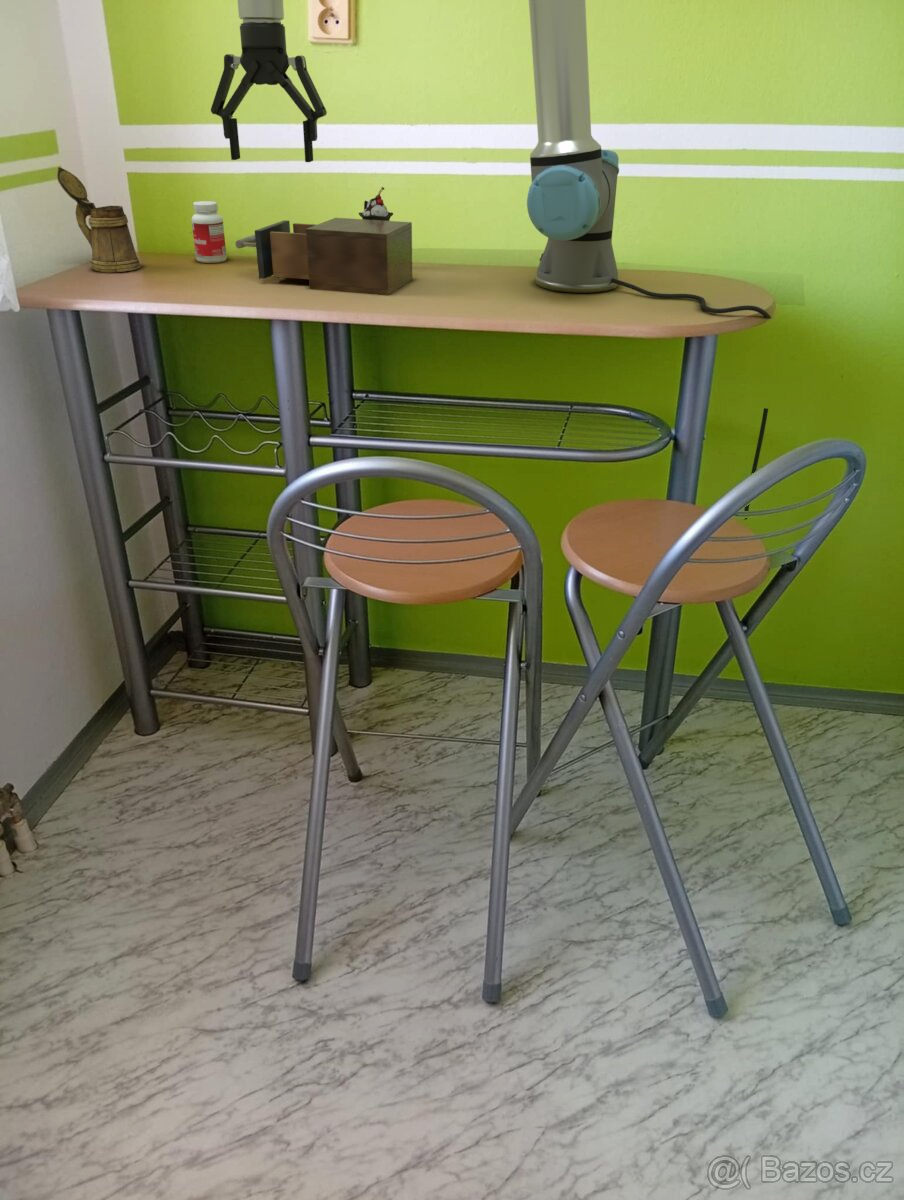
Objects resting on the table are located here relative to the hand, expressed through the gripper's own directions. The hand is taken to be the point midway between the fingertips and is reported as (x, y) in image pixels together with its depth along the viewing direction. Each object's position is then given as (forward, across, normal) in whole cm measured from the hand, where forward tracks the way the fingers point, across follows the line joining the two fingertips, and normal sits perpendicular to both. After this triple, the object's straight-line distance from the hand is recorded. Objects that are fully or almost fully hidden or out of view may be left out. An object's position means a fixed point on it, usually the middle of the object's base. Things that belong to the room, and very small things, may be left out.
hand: (272, 160), depth 170 cm
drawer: (+19, -3, 0) cm, 20 cm away
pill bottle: (+21, +19, -13) cm, 31 cm away
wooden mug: (+21, +36, -3) cm, 42 cm away
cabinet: (+20, -16, +3) cm, 26 cm away
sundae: (+20, -16, -13) cm, 29 cm away
